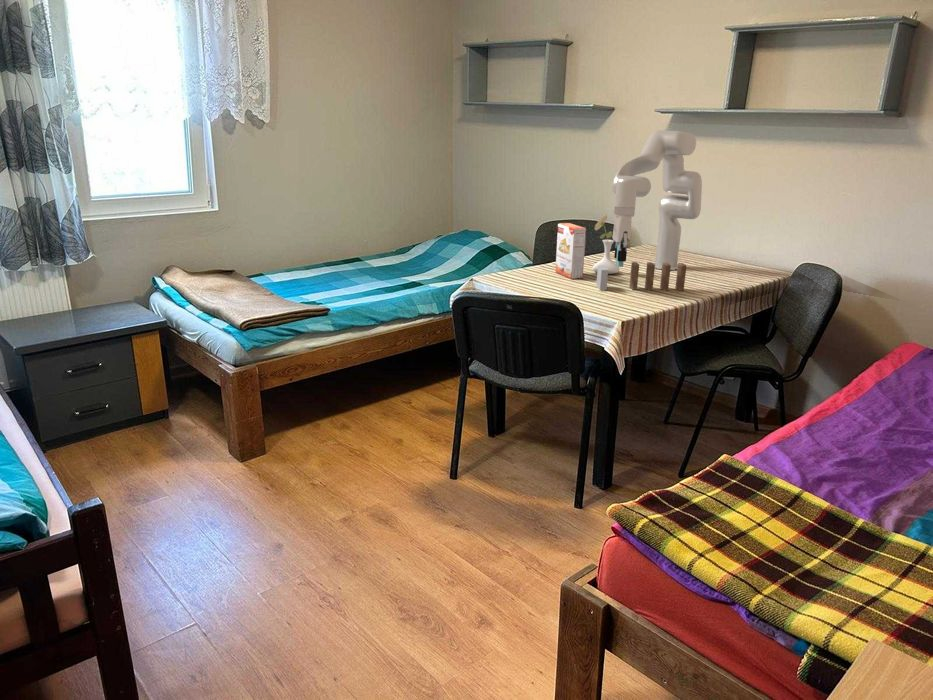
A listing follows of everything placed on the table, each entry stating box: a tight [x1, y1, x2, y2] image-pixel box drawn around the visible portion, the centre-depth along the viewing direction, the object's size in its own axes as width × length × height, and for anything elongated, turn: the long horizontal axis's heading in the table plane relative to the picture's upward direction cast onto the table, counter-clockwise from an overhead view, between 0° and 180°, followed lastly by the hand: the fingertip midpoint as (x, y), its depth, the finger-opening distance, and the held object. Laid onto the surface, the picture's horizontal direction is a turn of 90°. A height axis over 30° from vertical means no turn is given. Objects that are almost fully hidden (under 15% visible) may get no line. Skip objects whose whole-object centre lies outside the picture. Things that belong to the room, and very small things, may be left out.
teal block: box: [615, 241, 625, 268], centre depth 273 cm, size 2×5×10 cm, turn 1°
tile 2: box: [659, 263, 671, 292], centre depth 276 cm, size 2×5×10 cm, turn 0°
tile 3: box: [644, 261, 656, 291], centre depth 276 cm, size 2×5×10 cm, turn 0°
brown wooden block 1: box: [629, 261, 640, 291], centre depth 276 cm, size 2×5×10 cm, turn 0°
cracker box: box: [555, 222, 587, 280], centre depth 295 cm, size 14×6×21 cm, turn 21°
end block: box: [596, 266, 609, 291], centre depth 276 cm, size 8×2×8 cm, turn 0°
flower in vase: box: [591, 214, 620, 275], centre depth 300 cm, size 13×11×25 cm
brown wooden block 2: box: [674, 262, 687, 292], centre depth 276 cm, size 2×5×10 cm, turn 0°
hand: (620, 259), depth 273 cm, fingers closed on teal block, 4 cm apart
